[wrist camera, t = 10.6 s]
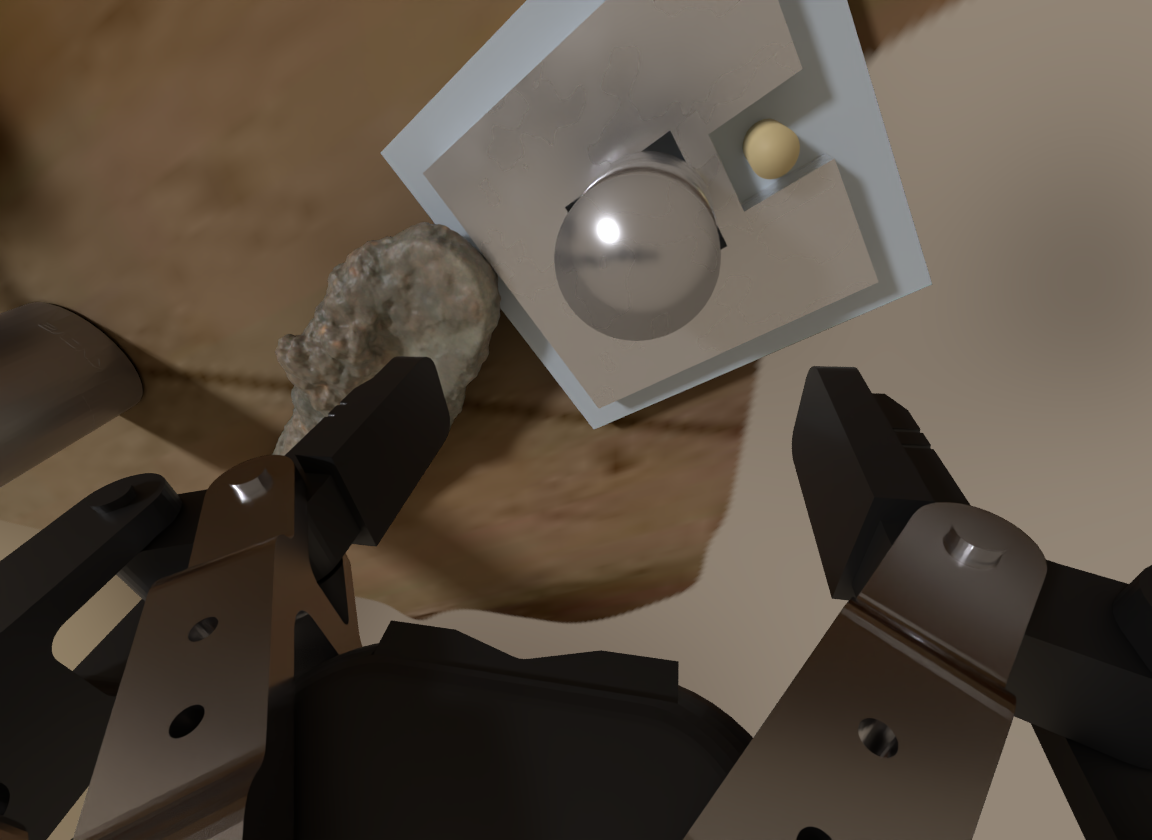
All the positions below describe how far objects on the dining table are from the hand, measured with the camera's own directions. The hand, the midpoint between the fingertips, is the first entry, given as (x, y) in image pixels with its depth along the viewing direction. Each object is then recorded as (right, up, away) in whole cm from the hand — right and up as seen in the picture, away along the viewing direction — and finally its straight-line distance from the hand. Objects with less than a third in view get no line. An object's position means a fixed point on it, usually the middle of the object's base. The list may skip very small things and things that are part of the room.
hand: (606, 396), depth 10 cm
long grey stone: (-16, 0, +23) cm, 28 cm away
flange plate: (+3, +9, +11) cm, 14 cm away
